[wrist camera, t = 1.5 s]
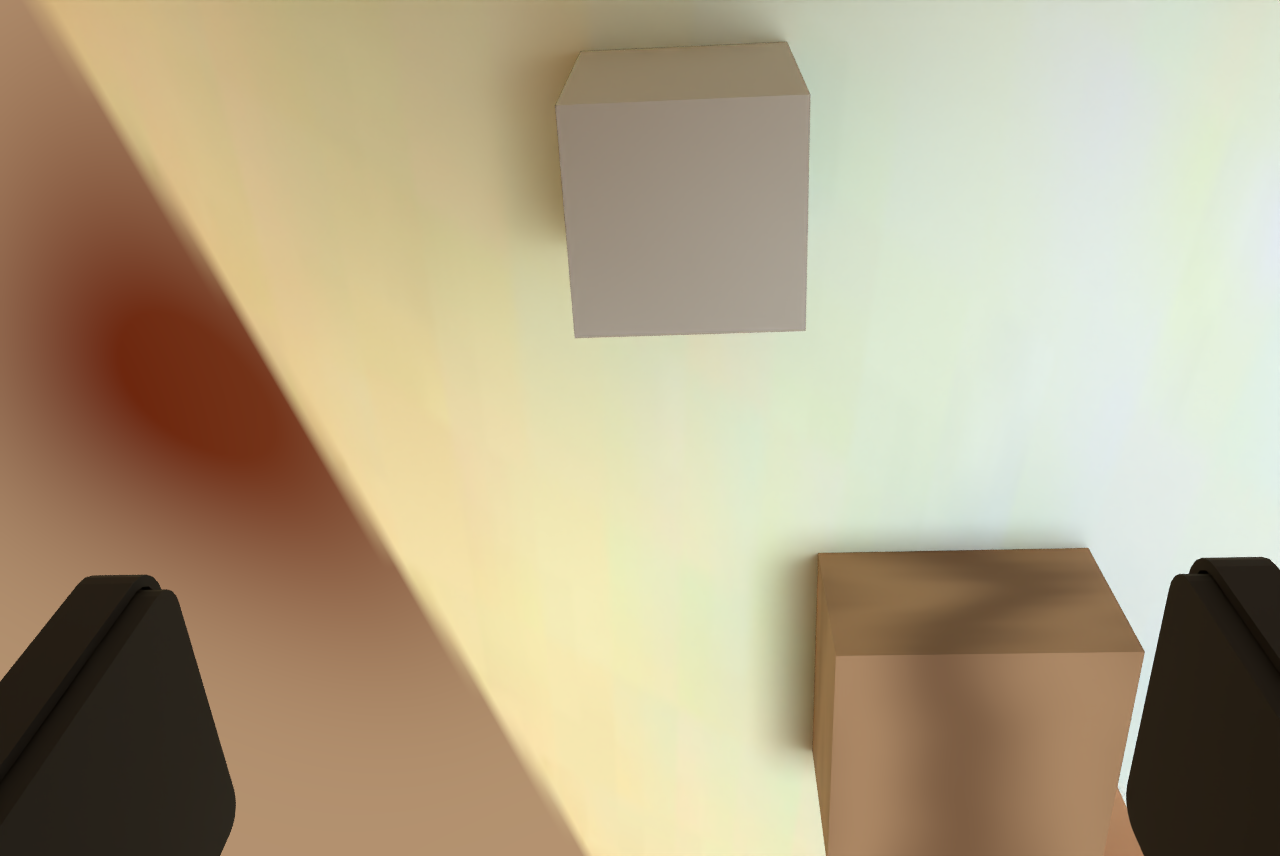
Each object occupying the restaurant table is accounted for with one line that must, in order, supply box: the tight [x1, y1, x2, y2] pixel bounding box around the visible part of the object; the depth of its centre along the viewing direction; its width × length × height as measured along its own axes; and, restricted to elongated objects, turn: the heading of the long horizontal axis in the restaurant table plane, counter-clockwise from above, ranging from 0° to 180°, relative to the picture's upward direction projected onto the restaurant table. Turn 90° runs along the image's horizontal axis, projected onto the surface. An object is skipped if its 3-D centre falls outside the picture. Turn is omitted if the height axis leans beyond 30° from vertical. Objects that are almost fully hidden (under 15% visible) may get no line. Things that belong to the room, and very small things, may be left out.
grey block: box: [555, 42, 810, 338], centre depth 26 cm, size 5×5×6 cm
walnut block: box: [812, 548, 1145, 856], centre depth 34 cm, size 8×8×5 cm
